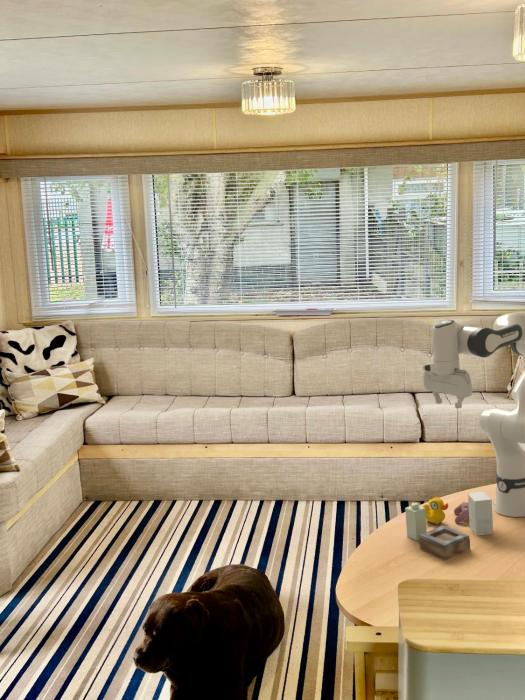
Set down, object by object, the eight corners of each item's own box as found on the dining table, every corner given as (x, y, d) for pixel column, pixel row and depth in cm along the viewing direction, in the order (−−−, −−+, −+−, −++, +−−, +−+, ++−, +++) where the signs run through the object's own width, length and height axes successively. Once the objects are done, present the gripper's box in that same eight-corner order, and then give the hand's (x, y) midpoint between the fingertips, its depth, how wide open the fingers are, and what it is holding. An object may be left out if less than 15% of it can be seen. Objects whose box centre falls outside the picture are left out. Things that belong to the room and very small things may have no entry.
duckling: (453, 523, 284) (451, 498, 282) (445, 528, 281) (443, 503, 279) (427, 516, 292) (426, 492, 291) (419, 521, 289) (417, 496, 287)
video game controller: (465, 527, 284) (473, 511, 282) (453, 522, 284) (461, 506, 282) (464, 516, 293) (471, 501, 291) (452, 511, 294) (460, 496, 292)
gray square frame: (445, 538, 273) (444, 524, 272) (470, 549, 263) (469, 535, 262) (420, 548, 267) (419, 534, 266) (444, 560, 257) (444, 545, 256)
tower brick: (417, 532, 280) (415, 500, 278) (427, 536, 276) (425, 504, 274) (407, 536, 278) (405, 504, 275) (416, 540, 273) (414, 508, 271)
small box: (493, 533, 273) (492, 499, 270) (476, 535, 273) (474, 501, 270) (486, 524, 281) (484, 491, 278) (469, 526, 280) (467, 493, 278)
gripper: (475, 369, 257) (477, 408, 260) (432, 361, 274) (434, 399, 277) (462, 372, 254) (464, 412, 256) (419, 365, 271) (421, 402, 274)
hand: (448, 405), depth 267 cm, fingers open, 8 cm apart
